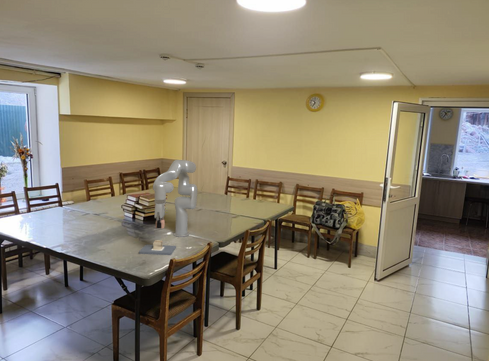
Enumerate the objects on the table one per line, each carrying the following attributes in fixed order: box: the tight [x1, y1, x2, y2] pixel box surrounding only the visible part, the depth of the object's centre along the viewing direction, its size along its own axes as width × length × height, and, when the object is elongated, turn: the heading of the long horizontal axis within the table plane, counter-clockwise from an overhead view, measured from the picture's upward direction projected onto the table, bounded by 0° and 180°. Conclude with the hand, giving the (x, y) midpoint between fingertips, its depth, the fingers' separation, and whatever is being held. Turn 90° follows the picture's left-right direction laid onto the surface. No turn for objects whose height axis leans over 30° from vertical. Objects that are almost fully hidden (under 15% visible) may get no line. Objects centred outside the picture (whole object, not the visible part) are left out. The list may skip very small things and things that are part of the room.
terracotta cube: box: [155, 219, 166, 230], centre depth 234 cm, size 5×5×5 cm
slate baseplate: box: [138, 243, 177, 256], centre depth 237 cm, size 15×22×2 cm
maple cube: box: [152, 239, 164, 250], centre depth 236 cm, size 5×5×5 cm
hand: (160, 226), depth 234 cm, fingers closed on terracotta cube, 4 cm apart
